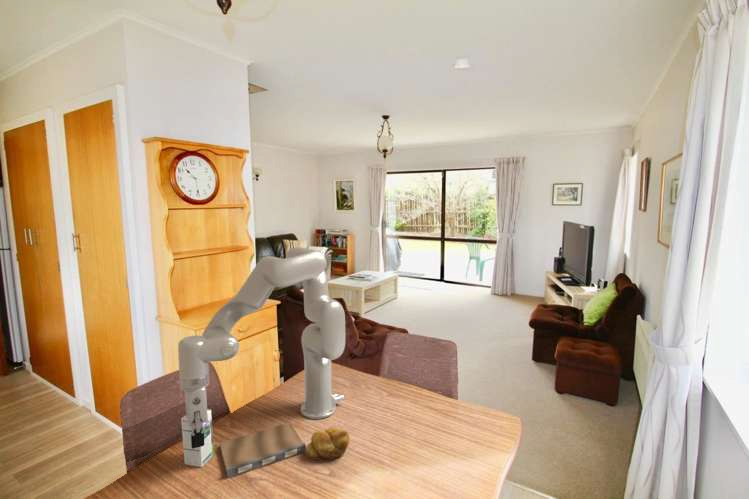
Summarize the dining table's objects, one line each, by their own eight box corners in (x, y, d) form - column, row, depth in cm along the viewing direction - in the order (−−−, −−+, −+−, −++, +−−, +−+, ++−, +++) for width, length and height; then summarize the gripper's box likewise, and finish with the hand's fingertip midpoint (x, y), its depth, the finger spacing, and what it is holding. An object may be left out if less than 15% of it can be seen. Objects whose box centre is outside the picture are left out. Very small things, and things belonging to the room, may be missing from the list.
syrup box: (202, 467, 106) (199, 419, 104) (183, 464, 107) (180, 417, 105) (214, 454, 112) (212, 408, 110) (196, 451, 113) (194, 406, 111)
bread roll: (305, 466, 107) (305, 440, 106) (304, 445, 116) (304, 420, 115) (350, 460, 110) (350, 434, 109) (346, 439, 119) (346, 416, 118)
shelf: (290, 426, 126) (290, 419, 125) (305, 452, 113) (305, 445, 112) (219, 447, 115) (219, 439, 115) (228, 478, 102) (227, 470, 101)
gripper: (212, 390, 101) (214, 450, 103) (205, 366, 115) (207, 418, 117) (181, 397, 97) (183, 459, 99) (178, 371, 112) (180, 425, 114)
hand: (196, 437), depth 108 cm, fingers open, 9 cm apart
